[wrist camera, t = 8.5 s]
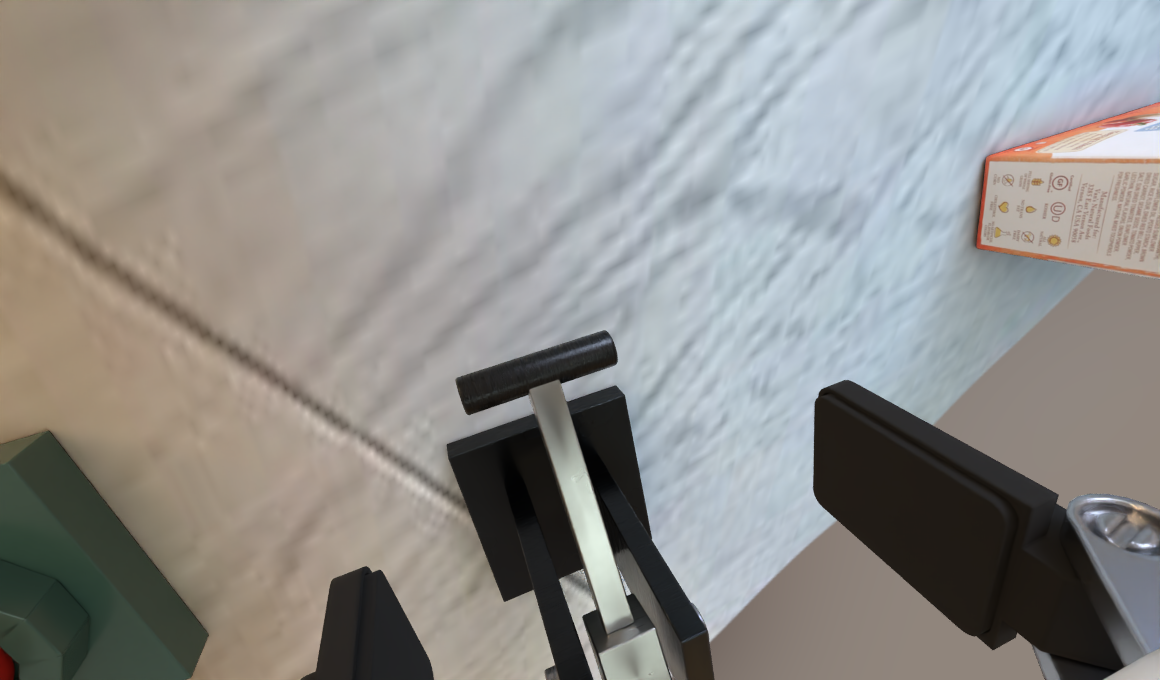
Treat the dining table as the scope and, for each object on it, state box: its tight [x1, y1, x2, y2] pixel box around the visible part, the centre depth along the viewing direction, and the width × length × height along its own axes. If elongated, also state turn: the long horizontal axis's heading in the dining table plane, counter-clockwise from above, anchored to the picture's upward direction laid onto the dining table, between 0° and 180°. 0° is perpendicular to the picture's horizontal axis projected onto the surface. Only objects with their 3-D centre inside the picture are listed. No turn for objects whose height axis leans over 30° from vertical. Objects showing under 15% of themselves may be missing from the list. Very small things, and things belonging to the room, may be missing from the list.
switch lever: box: [456, 330, 672, 680], centre depth 18 cm, size 13×6×2 cm, turn 12°
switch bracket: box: [447, 386, 714, 680], centre depth 22 cm, size 10×9×12 cm
